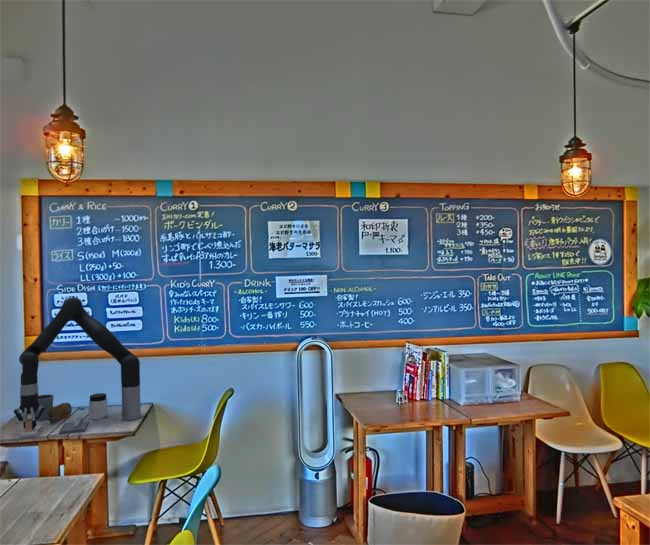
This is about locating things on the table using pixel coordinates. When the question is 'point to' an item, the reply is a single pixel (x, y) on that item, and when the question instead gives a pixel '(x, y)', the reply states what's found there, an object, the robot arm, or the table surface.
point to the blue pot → (48, 403)
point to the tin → (59, 412)
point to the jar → (98, 406)
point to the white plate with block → (29, 431)
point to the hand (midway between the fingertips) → (29, 428)
